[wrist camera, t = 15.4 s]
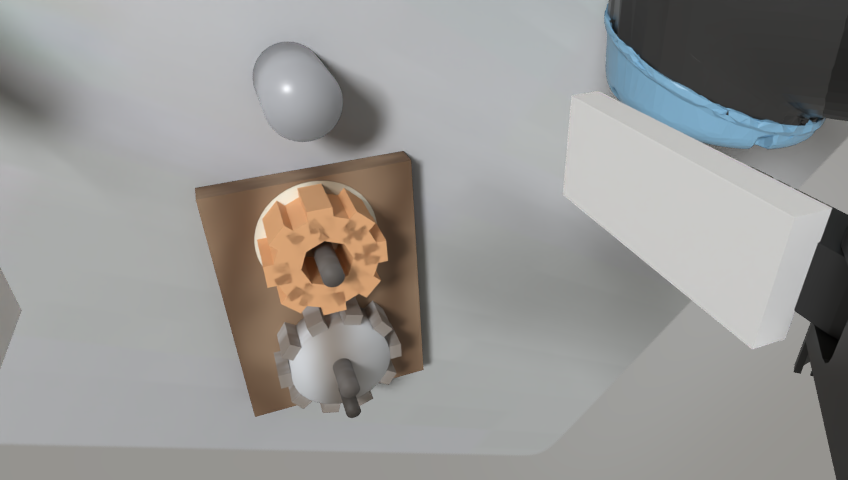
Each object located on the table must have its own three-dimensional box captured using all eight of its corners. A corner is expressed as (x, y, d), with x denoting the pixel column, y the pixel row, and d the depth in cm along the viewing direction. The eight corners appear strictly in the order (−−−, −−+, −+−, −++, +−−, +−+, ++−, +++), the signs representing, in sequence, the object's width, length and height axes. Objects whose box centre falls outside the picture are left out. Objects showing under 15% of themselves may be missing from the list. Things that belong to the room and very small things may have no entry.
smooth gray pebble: (319, 37, 42) (337, 58, 37) (328, 107, 44) (347, 134, 40) (246, 46, 40) (255, 69, 36) (260, 117, 43) (270, 147, 38)
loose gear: (367, 174, 46) (382, 197, 43) (377, 271, 51) (391, 298, 47) (247, 197, 43) (253, 222, 40) (269, 297, 48) (276, 326, 45)
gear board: (403, 151, 48) (438, 192, 42) (416, 356, 60) (445, 414, 53) (195, 188, 44) (197, 241, 38) (253, 401, 56) (262, 469, 49)
